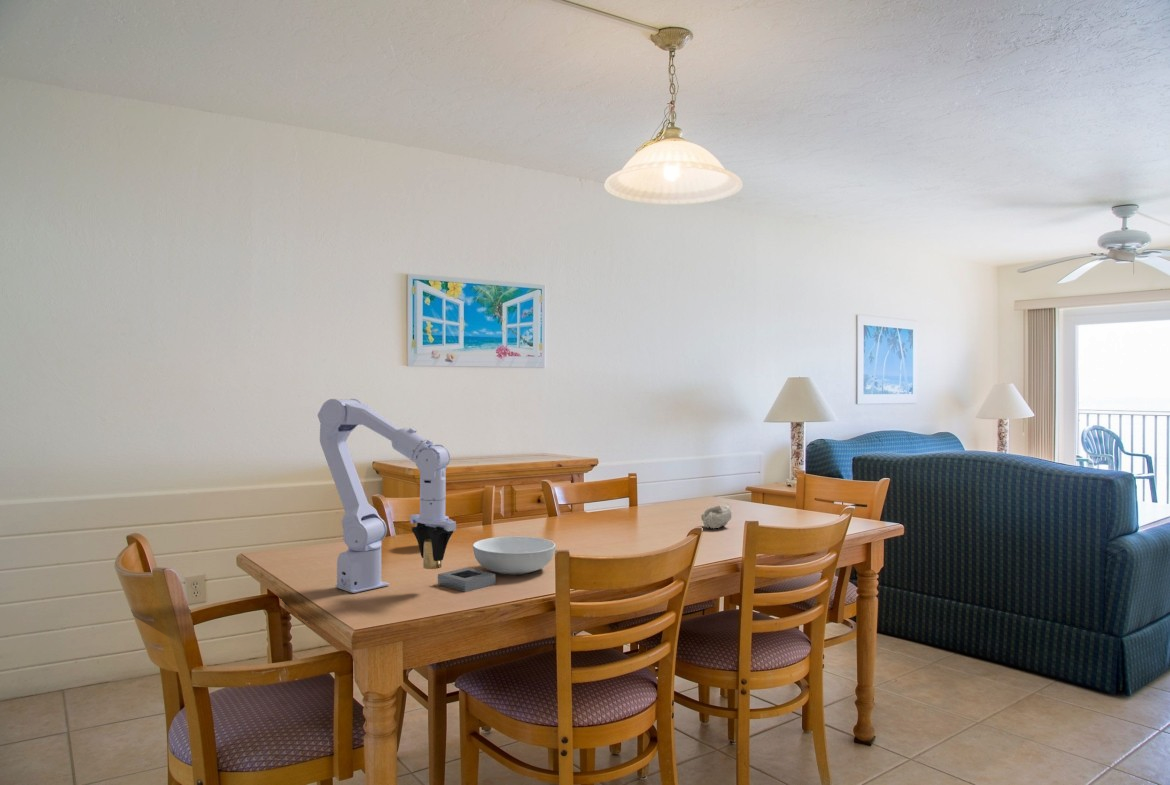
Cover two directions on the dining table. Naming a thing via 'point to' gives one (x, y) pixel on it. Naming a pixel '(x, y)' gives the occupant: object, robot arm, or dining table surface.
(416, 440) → the robot arm
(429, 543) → the brass cylinder
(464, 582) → the frame
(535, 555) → the serving bowl
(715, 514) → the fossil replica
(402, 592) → the dining table surface
